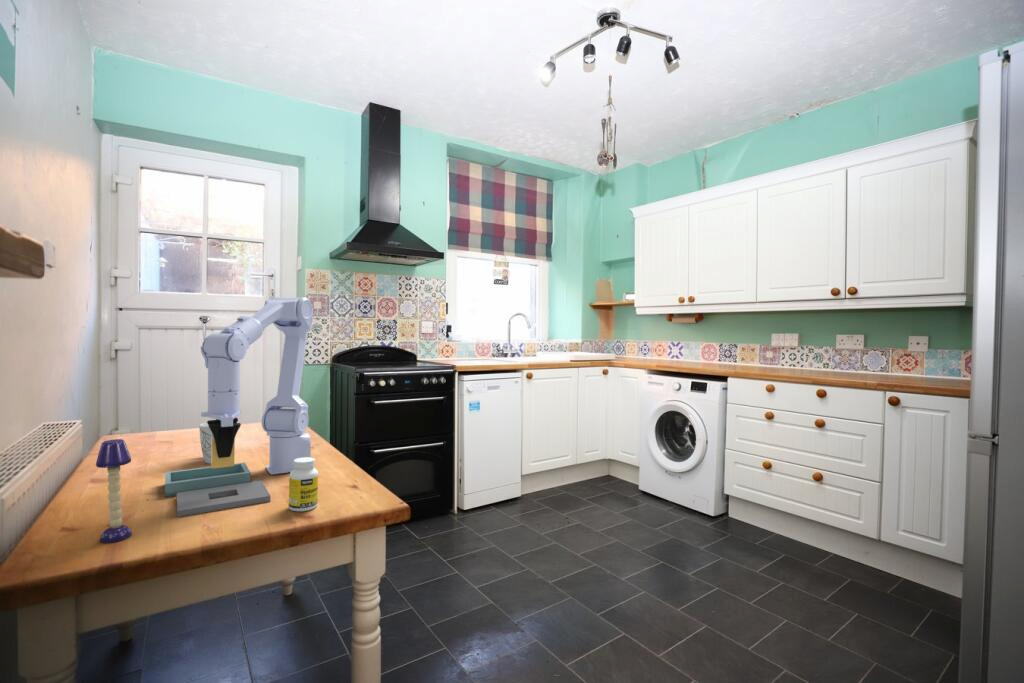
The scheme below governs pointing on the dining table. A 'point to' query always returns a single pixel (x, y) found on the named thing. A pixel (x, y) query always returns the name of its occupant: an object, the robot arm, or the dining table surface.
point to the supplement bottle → (303, 485)
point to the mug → (205, 442)
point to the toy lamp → (114, 487)
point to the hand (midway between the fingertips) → (223, 455)
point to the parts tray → (205, 478)
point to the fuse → (220, 462)
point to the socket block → (204, 499)
